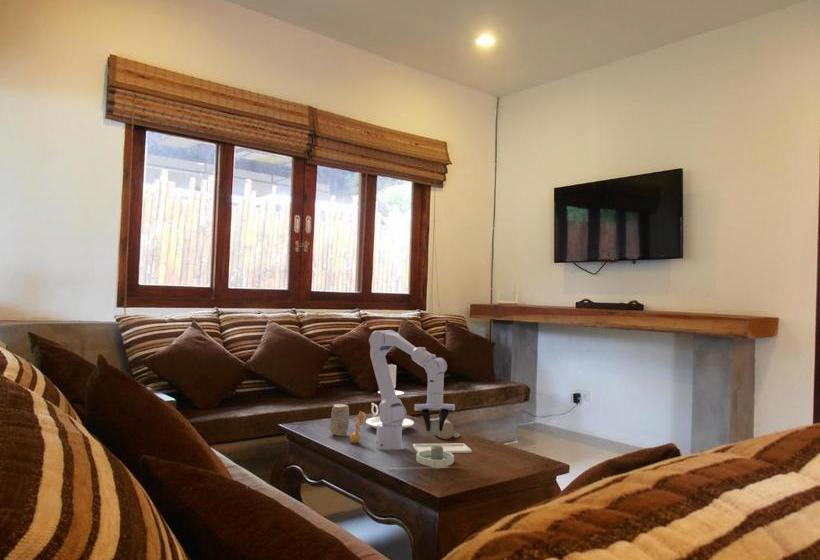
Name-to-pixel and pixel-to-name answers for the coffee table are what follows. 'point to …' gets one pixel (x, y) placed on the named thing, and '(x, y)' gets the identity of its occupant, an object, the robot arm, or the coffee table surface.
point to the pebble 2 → (437, 453)
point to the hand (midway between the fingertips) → (434, 430)
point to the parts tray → (444, 447)
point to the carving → (339, 419)
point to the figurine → (358, 427)
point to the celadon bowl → (425, 459)
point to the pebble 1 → (434, 427)
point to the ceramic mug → (447, 431)
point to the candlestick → (376, 420)
